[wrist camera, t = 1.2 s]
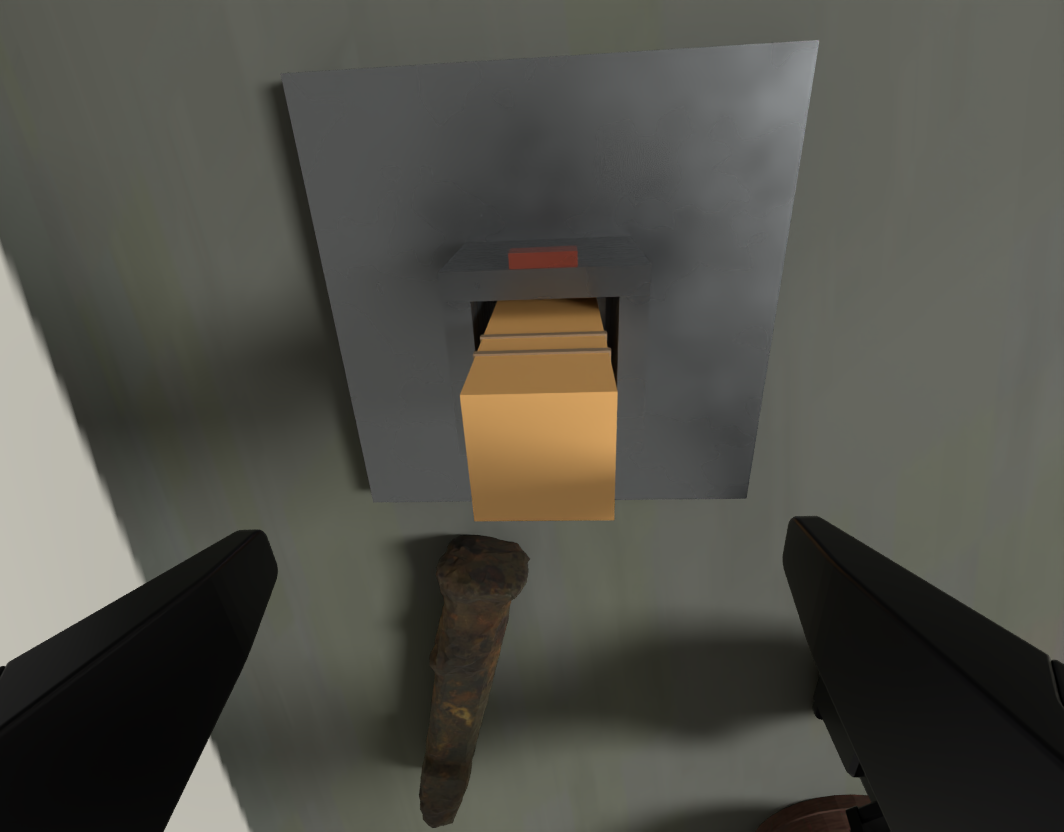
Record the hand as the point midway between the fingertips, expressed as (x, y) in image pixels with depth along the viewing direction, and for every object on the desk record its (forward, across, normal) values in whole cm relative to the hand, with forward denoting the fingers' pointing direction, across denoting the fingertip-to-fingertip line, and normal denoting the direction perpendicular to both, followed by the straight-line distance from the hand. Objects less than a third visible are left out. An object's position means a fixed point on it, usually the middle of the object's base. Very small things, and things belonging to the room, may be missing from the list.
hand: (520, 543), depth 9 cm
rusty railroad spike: (+14, +5, +20) cm, 24 cm away
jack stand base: (+13, 0, 0) cm, 13 cm away
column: (+12, 0, 0) cm, 12 cm away
